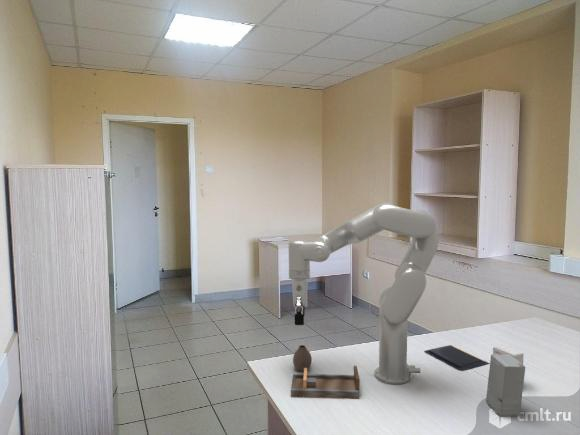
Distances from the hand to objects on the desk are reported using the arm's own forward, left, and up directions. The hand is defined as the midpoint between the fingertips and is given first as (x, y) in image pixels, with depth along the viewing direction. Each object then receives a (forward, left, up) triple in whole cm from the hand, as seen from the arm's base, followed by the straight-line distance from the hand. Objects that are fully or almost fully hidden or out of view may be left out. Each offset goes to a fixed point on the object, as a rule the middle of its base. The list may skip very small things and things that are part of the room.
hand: (299, 320), depth 157 cm
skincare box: (-63, +24, -19) cm, 70 cm away
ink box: (-71, +7, -19) cm, 74 cm away
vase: (-1, 0, -19) cm, 19 cm away
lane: (-9, +14, -19) cm, 25 cm away
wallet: (-60, -13, -20) cm, 64 cm away
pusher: (-4, +14, -18) cm, 23 cm away
